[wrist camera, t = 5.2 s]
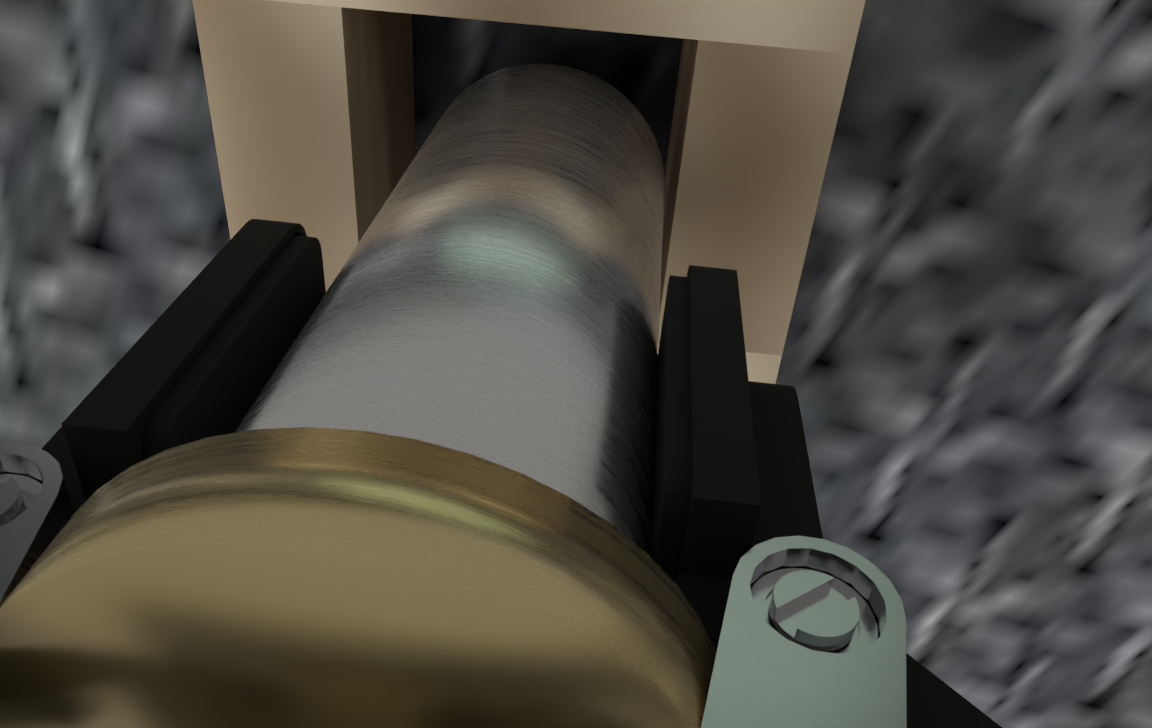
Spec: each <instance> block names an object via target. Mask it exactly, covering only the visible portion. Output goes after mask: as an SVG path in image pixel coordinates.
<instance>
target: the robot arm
mask: <svg viewBox="0 0 1152 728" xmlns="http://www.w3.org/2000/svg"><path fill="white" fill-rule="evenodd" d="M325 293H326V288H325V278H324V268H323V258H322V250H321V245H320V242H319V240H318V239H317V238H316V237H307V234H306V232H305V229H304V227H303V226H302V225H301V224H299V223H289V222H280V221H270V220H261V219H251V220H249V221H248V222H247V223H246V224H245V225H244V226H243V227H242V228H241V229H240V230H239V231H238V232H237V233H236V234H235V236H234V237H233V238H232V239H231V240H230V241H229V242H228V243H227V244H226V245H225V246H224V248H223V249H222V250H221V251H220V252H219V253H218V254H217V255H216V256H215V257H214V258H213V260H212V261H211V262H210V263H209V264H208V265H207V266H206V267H205V268H204V269H203V270H202V272H201V273H200V274H199V275H198V276H197V277H196V278H195V279H194V280H193V281H192V282H191V283H190V285H189V286H188V287H187V288H186V289H185V290H184V291H183V292H182V293H181V294H180V295H179V297H178V298H177V299H176V300H175V301H174V302H173V303H172V304H171V305H170V306H169V307H168V309H167V310H166V311H165V312H164V313H163V314H162V315H161V316H160V317H159V318H158V319H157V321H156V322H155V323H154V324H153V325H152V326H151V327H150V328H149V329H148V330H147V331H146V332H145V334H144V335H143V336H142V337H141V338H140V339H139V340H138V341H137V342H136V343H135V344H134V346H133V347H132V348H131V349H130V350H129V351H128V352H127V353H126V354H125V355H124V356H123V358H122V359H121V360H120V361H119V362H118V363H117V364H116V365H115V366H114V367H113V368H112V370H111V371H110V372H109V373H108V374H107V375H106V376H105V377H104V378H103V379H102V380H101V381H100V383H99V384H98V385H97V386H96V387H95V388H94V389H93V390H92V391H91V392H90V393H89V395H88V396H87V397H86V398H85V399H84V400H83V401H82V402H81V403H80V404H79V405H78V407H77V408H76V409H75V410H74V411H73V412H72V413H71V414H70V415H69V416H68V417H67V419H66V420H65V421H64V422H63V423H62V427H61V428H60V429H59V430H58V431H57V433H56V434H55V435H54V436H53V437H52V438H51V439H50V440H49V441H48V442H47V444H46V445H45V446H44V447H43V448H42V449H39V448H36V447H33V446H31V445H27V444H16V443H0V606H1V605H2V604H3V602H4V601H5V600H6V599H7V597H8V596H9V595H10V594H11V592H12V591H13V590H14V589H15V587H16V586H17V585H18V584H19V582H20V581H21V580H22V579H23V577H24V576H25V575H26V574H27V572H28V571H29V570H30V569H31V567H32V566H33V565H34V563H35V562H36V561H37V560H38V558H39V557H40V556H41V555H42V553H43V552H44V551H45V550H46V548H47V547H48V546H49V545H50V543H51V542H52V541H53V540H54V538H55V537H56V536H57V535H58V533H59V532H60V531H61V530H62V528H63V527H64V526H65V524H66V523H67V522H68V521H69V519H70V518H71V517H72V516H73V514H74V513H75V512H76V511H77V510H78V509H79V508H80V507H81V506H82V505H83V504H84V503H85V502H86V501H87V500H88V499H89V498H90V497H91V496H92V495H93V494H94V492H95V491H96V490H97V489H98V488H100V487H101V486H103V485H104V484H106V483H107V482H108V481H110V480H111V479H113V478H114V477H116V476H117V475H118V474H120V473H121V472H123V471H124V470H126V469H127V468H129V467H131V466H133V465H135V464H137V463H139V462H141V461H143V460H145V459H148V458H150V457H152V456H154V455H156V454H158V453H160V452H162V451H165V450H167V449H171V448H174V447H177V446H181V445H184V444H187V443H191V442H194V441H197V440H201V439H204V438H207V437H212V436H218V435H225V434H231V433H234V432H235V431H236V429H237V428H238V426H239V425H240V423H241V422H242V420H243V418H244V417H245V415H246V414H247V412H248V411H249V409H250V408H251V406H252V405H253V403H254V402H255V400H256V399H257V397H258V396H259V394H260V393H261V391H262V389H263V388H264V386H265V385H266V383H267V382H268V380H269V379H270V377H271V376H272V374H273V373H274V371H275V370H276V368H277V367H278V365H279V364H280V362H281V360H282V359H283V357H284V356H285V354H286V353H287V351H288V350H289V348H290V347H291V345H292V344H293V342H294V341H295V339H296V338H297V336H298V335H299V333H300V332H301V330H302V328H303V327H304V325H305V324H306V322H307V321H308V319H309V318H310V316H311V315H312V313H313V312H314V310H315V309H316V307H317V306H318V304H319V303H320V301H321V299H322V298H323V296H324V295H325ZM650 557H651V558H652V559H653V560H654V561H655V562H656V563H657V564H658V565H659V566H660V567H661V568H662V569H663V570H664V571H665V572H666V574H667V575H668V576H669V577H670V578H671V579H672V580H673V581H674V582H675V583H676V584H677V585H678V587H679V588H680V589H681V591H682V592H683V594H684V595H685V597H686V598H687V600H688V601H689V602H690V604H691V605H692V607H693V608H694V610H695V611H696V612H697V614H698V615H699V617H700V619H701V621H702V623H703V625H704V627H705V629H706V631H707V633H708V635H709V637H710V639H711V642H712V644H713V646H714V648H715V651H716V653H715V658H714V663H713V668H712V673H711V678H710V683H709V689H708V694H707V699H706V704H705V709H704V714H703V719H702V724H701V728H1002V727H1000V726H999V725H998V724H997V723H995V722H994V721H993V720H991V719H990V718H989V717H988V716H986V715H985V714H984V713H983V712H981V711H980V710H979V709H977V708H976V707H975V706H974V705H972V704H971V703H970V702H968V701H967V700H966V699H965V698H963V697H962V696H961V695H959V694H958V693H957V692H956V691H954V690H953V689H952V688H950V687H949V686H948V685H947V684H945V683H944V682H943V681H941V680H940V679H939V678H938V677H936V676H935V675H934V674H932V673H931V672H930V671H929V670H927V669H926V668H925V667H923V666H922V665H921V664H920V663H918V662H917V661H916V660H914V659H913V658H912V657H911V656H909V655H908V654H907V653H906V618H905V613H904V608H903V604H902V600H901V598H900V596H899V595H898V593H897V591H896V590H895V588H894V586H893V585H892V583H891V581H890V580H889V579H888V578H887V577H886V576H885V575H884V574H883V573H882V572H881V571H880V570H879V569H878V568H877V567H876V566H875V565H874V564H873V563H872V562H870V561H869V560H867V559H866V558H864V557H862V556H861V555H859V554H857V553H856V552H854V551H852V550H851V549H849V548H847V547H844V546H841V545H839V544H836V543H833V542H830V541H828V540H825V539H823V537H822V532H821V526H820V520H819V515H818V509H817V503H816V498H815V492H814V487H813V481H812V475H811V470H810V464H809V458H808V453H807V447H806V441H805V436H804V430H803V424H802V419H801V413H800V407H799V402H798V396H797V393H796V390H795V388H794V387H793V386H789V385H780V384H771V383H762V382H753V381H748V372H747V362H746V352H745V343H744V333H743V323H742V314H741V304H740V294H739V285H738V275H737V270H731V269H722V268H713V267H703V266H694V265H689V268H688V272H687V277H682V276H672V275H670V277H669V281H668V287H667V294H666V301H665V308H664V315H663V322H662V329H661V336H660V343H659V350H658V361H657V385H656V410H655V434H654V459H653V483H652V508H651V532H650Z"/></svg>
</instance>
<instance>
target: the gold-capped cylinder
mask: <svg viewBox="0 0 1152 728" xmlns="http://www.w3.org/2000/svg"><path fill="white" fill-rule="evenodd" d="M664 187H665V179H664V166H663V162H662V157H661V153H660V149H659V147H658V144H657V141H656V139H655V136H654V134H653V132H652V131H651V129H650V127H649V125H648V123H647V122H646V120H645V119H644V117H643V116H642V115H641V113H640V112H639V110H638V109H637V108H636V107H635V106H634V105H633V104H632V103H631V102H630V101H629V100H628V99H627V98H626V97H625V96H624V95H623V94H622V93H620V92H619V91H618V90H617V89H615V88H614V87H613V86H611V85H610V84H608V83H606V82H605V81H603V80H601V79H600V78H598V77H596V76H593V75H591V74H589V73H587V72H585V71H582V70H578V69H575V68H572V67H568V66H563V65H557V64H548V63H531V64H521V65H515V66H511V67H507V68H503V69H500V70H498V71H495V72H493V73H490V74H488V75H486V76H484V77H482V78H481V79H479V80H477V81H475V82H474V83H472V84H471V85H470V86H468V87H467V88H466V89H465V90H463V91H462V92H461V93H460V94H459V95H458V96H457V97H456V98H455V99H454V100H453V101H452V102H451V104H450V105H449V106H448V108H447V109H446V111H445V112H444V113H443V115H442V116H441V118H440V119H439V121H438V122H437V124H436V126H435V127H434V129H433V130H432V132H431V133H430V135H429V136H428V138H427V139H426V141H425V142H424V144H423V145H422V147H421V148H420V150H419V151H418V153H417V155H416V156H415V158H414V159H413V161H412V162H411V164H410V165H409V167H408V168H407V170H406V171H405V173H404V174H403V176H402V177H401V179H400V180H399V182H398V184H397V185H396V187H395V188H394V190H393V191H392V193H391V194H390V196H389V197H388V199H387V200H386V202H385V203H384V205H383V206H382V208H381V209H380V211H379V212H378V214H377V216H376V217H375V219H374V220H373V222H372V223H371V225H370V226H369V228H368V229H367V231H366V232H365V234H364V235H363V237H362V238H361V240H360V241H359V243H358V245H357V246H356V248H355V249H354V251H353V252H352V254H351V255H350V257H349V258H348V260H347V261H346V263H345V264H344V266H343V267H342V269H341V270H340V272H339V274H338V275H337V277H336V278H335V280H334V281H333V283H332V284H331V286H330V287H329V289H328V290H327V292H326V293H325V295H324V296H323V298H322V299H321V301H320V303H319V304H318V306H317V307H316V309H315V310H314V312H313V313H312V315H311V316H310V318H309V319H308V321H307V322H306V324H305V325H304V327H303V328H302V330H301V332H300V333H299V335H298V336H297V338H296V339H295V341H294V342H293V344H292V345H291V347H290V348H289V350H288V351H287V353H286V354H285V356H284V357H283V359H282V360H281V362H280V364H279V365H278V367H277V368H276V370H275V371H274V373H273V374H272V376H271V377H270V379H269V380H268V382H267V383H266V385H265V386H264V388H263V389H262V391H261V393H260V394H259V396H258V397H257V399H256V400H255V402H254V403H253V405H252V406H251V408H250V409H249V411H248V412H247V414H246V415H245V417H244V418H243V420H242V422H241V423H240V425H239V426H238V428H237V429H236V431H235V432H234V433H231V434H225V435H218V436H212V437H207V438H204V439H201V440H197V441H194V442H191V443H187V444H184V445H181V446H177V447H174V448H171V449H167V450H165V451H162V452H160V453H158V454H156V455H154V456H152V457H150V458H148V459H145V460H143V461H141V462H139V463H137V464H135V465H133V466H131V467H129V468H127V469H126V470H124V471H123V472H121V473H120V474H118V475H117V476H116V477H114V478H113V479H111V480H110V481H108V482H107V483H106V484H104V485H103V486H101V487H100V488H98V489H97V490H96V491H95V492H94V494H93V495H92V496H91V497H90V498H89V499H88V500H87V501H86V502H85V503H84V504H83V505H82V506H81V507H80V508H79V509H78V510H77V511H76V512H75V513H74V514H73V516H72V517H71V518H70V519H69V521H68V522H67V523H66V524H65V526H64V527H63V528H62V530H61V531H60V532H59V533H58V535H57V536H56V537H55V538H54V540H53V541H52V542H51V543H50V545H49V546H48V547H47V548H46V550H45V551H44V552H43V553H42V555H41V556H40V557H39V558H38V560H37V561H36V562H35V563H34V565H33V566H32V567H31V569H30V570H29V571H28V572H27V574H26V575H25V576H24V577H23V579H22V580H21V581H20V582H19V584H18V585H17V586H16V587H15V589H14V590H13V591H12V592H11V594H10V595H9V596H8V597H7V599H6V600H5V601H4V602H3V604H2V605H1V606H0V728H701V724H702V719H703V714H704V709H705V704H706V699H707V694H708V689H709V683H710V678H711V673H712V668H713V663H714V658H715V653H716V651H715V648H714V646H713V644H712V642H711V639H710V637H709V635H708V633H707V631H706V629H705V627H704V625H703V623H702V621H701V619H700V617H699V615H698V614H697V612H696V611H695V610H694V608H693V607H692V605H691V604H690V602H689V601H688V600H687V598H686V597H685V595H684V594H683V592H682V591H681V589H680V588H679V587H678V585H677V584H676V583H675V582H674V581H673V580H672V579H671V578H670V577H669V576H668V575H667V574H666V572H665V571H664V570H663V569H662V568H661V567H660V566H659V565H658V564H657V563H656V562H655V561H654V560H653V559H652V558H651V557H650V532H651V508H652V483H653V459H654V434H655V410H656V385H657V361H658V337H659V312H660V287H661V262H662V237H663V212H664Z"/></svg>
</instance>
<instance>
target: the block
mask: <svg viewBox="0 0 1152 728" xmlns="http://www.w3.org/2000/svg"><path fill="white" fill-rule="evenodd" d="M192 1H193V7H194V14H195V20H196V26H197V32H198V39H199V45H200V51H201V57H202V64H203V70H204V76H205V82H206V89H207V95H208V101H209V107H210V114H211V120H212V126H213V132H214V139H215V145H216V151H217V157H218V164H219V170H220V176H221V182H222V189H223V195H224V201H225V207H226V214H227V220H228V226H229V232H230V239H232V238H233V237H234V236H235V234H236V233H237V232H238V231H239V230H240V229H241V228H242V227H243V226H244V225H245V224H246V223H247V222H248V221H249V220H251V219H261V220H270V221H280V222H289V223H299V224H301V225H302V226H303V227H304V229H305V232H306V234H307V237H316V238H317V239H318V240H319V242H320V245H321V250H322V258H323V268H324V278H325V288H326V292H327V290H328V289H329V287H330V286H331V284H332V283H333V281H334V280H335V278H336V277H337V275H338V274H339V272H340V270H341V269H342V267H343V266H344V264H345V263H346V261H347V260H348V258H349V257H350V255H351V254H352V252H353V251H354V249H355V248H356V246H357V245H358V243H359V241H360V240H361V238H362V237H363V235H364V234H365V232H366V231H367V229H368V228H369V226H370V225H371V223H372V222H373V220H374V219H375V217H376V216H377V214H378V212H379V211H380V209H381V208H382V206H383V205H384V203H385V202H386V200H387V199H388V197H389V196H390V194H391V193H392V191H393V190H394V188H395V187H396V185H397V184H398V182H399V180H400V179H401V177H402V176H403V174H404V173H405V171H406V170H407V168H408V167H409V165H410V164H411V162H412V161H413V159H414V158H415V156H416V136H415V104H414V72H413V41H412V14H420V15H431V16H442V17H453V18H464V19H475V20H486V21H497V22H508V23H519V24H530V25H541V26H552V27H562V28H573V29H584V30H595V31H606V32H617V33H628V34H639V35H650V36H661V37H672V38H683V41H682V49H681V57H680V64H679V72H678V80H677V87H676V95H675V102H674V110H673V118H672V125H671V133H670V141H669V148H668V156H667V164H666V171H665V187H664V212H663V237H662V262H661V287H660V312H659V337H658V350H659V343H660V336H661V329H662V322H663V315H664V308H665V301H666V294H667V287H668V281H669V277H670V275H672V276H682V277H687V272H688V268H689V265H694V266H703V267H713V268H722V269H731V270H737V275H738V285H739V294H740V304H741V314H742V323H743V333H744V343H745V352H746V362H747V372H748V381H753V382H762V383H771V384H775V383H776V379H777V375H778V370H779V366H780V362H781V358H782V353H783V349H784V345H785V341H786V336H787V332H788V328H789V324H790V320H791V315H792V311H793V307H794V303H795V298H796V294H797V290H798V286H799V281H800V277H801V273H802V269H803V264H804V260H805V256H806V252H807V247H808V243H809V239H810V235H811V230H812V226H813V222H814V218H815V213H816V209H817V205H818V201H819V196H820V192H821V188H822V184H823V179H824V175H825V171H826V167H827V162H828V158H829V154H830V150H831V145H832V141H833V137H834V133H835V128H836V124H837V120H838V116H839V111H840V107H841V103H842V99H843V94H844V90H845V86H846V82H847V77H848V73H849V69H850V65H851V60H852V56H853V52H854V48H855V44H856V39H857V35H858V31H859V27H860V22H861V18H862V14H863V10H864V5H865V1H866V0H192Z"/></svg>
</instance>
